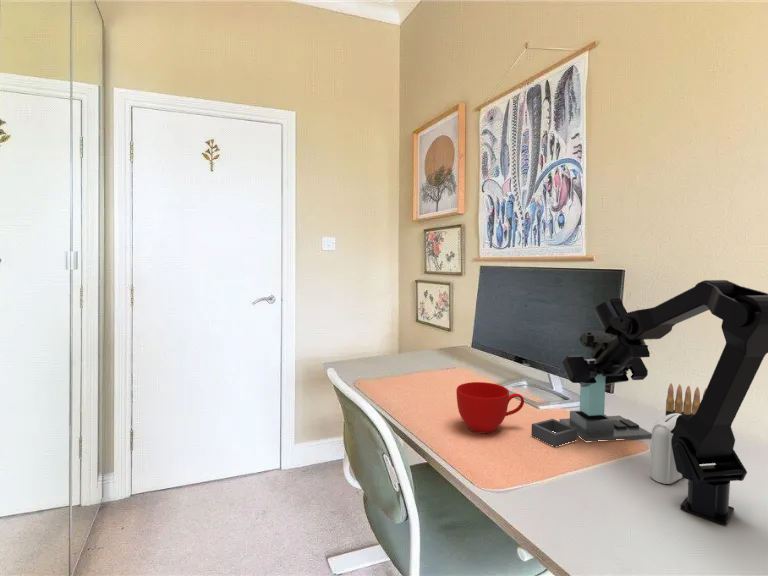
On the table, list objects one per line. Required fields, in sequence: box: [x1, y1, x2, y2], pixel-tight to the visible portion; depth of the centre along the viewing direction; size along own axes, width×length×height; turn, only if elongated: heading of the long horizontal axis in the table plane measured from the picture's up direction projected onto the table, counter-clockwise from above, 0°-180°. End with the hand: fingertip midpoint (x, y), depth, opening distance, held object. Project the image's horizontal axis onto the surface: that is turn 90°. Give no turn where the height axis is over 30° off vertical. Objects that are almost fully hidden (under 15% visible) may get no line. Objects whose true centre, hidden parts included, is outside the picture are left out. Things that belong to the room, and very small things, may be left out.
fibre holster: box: [530, 418, 578, 448], centre depth 105 cm, size 7×7×3 cm
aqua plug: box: [579, 358, 606, 416], centre depth 108 cm, size 4×4×13 cm
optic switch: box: [558, 409, 652, 442], centre depth 110 cm, size 12×17×4 cm
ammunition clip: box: [664, 382, 707, 416], centre depth 107 cm, size 11×2×12 cm, turn 55°
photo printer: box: [649, 413, 683, 485], centre depth 87 cm, size 10×4×12 cm, turn 123°
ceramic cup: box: [455, 381, 525, 434], centre depth 111 cm, size 13×17×10 cm
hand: (589, 384), depth 110 cm, fingers closed on aqua plug, 4 cm apart
